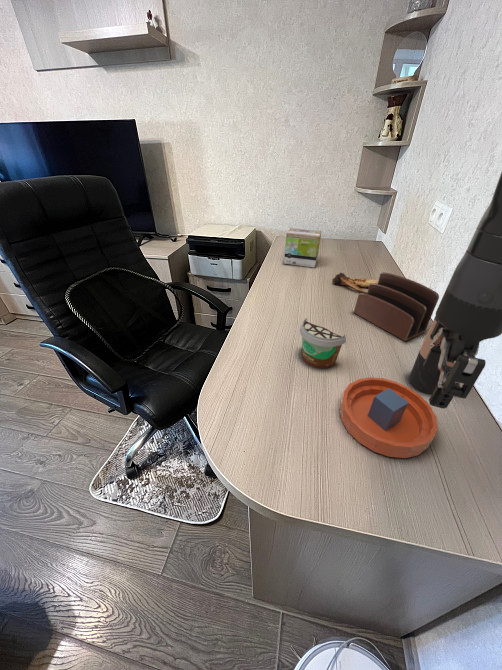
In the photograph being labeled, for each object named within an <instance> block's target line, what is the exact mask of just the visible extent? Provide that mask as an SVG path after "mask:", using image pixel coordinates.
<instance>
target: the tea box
mask: <svg viewBox="0 0 502 670" xmlns="http://www.w3.org/2000/svg"><path fill="white" fill-rule="evenodd" d="M285 235H286V236H285V245H284V254H283V255H284V258H283V264H284V265H292V266H300V267H305V268H306V267H307V268H315V267H316V264H317V262H318V257H319V251H320V245H321V237H322V231H321V230H313V229H302V228H292V227H291V228H289V230H288V231H287V233H286V234H285Z"/></svg>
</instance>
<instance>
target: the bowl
mask: <svg viewBox="0 0 502 670" xmlns="http://www.w3.org/2000/svg"><path fill="white" fill-rule="evenodd" d="M388 388H390V389H391V390H393V391H394V392H395V393H397V394H398V395H399V396H401V397H402V398H404V399H405V400H406V401H408V402H409V403H408V405H407V407H406V409H405V411H404V413H403V416H402V418H401V420H400V422H399V423H397V424H395V425H394V426H392V427H391V428H389V429H388V430H386V431H384V430H383V429H382V428H381V427H380V426H379V425H378V424H376V423H375V422H374V421H373V420H372V419H371V418H370V417H368V416H367V415H368V413H369V410H370V407H371V405H372V402H373V399H374V397H375V396H376V395H378V394H379V393H381V392H383V391H385V390H387V389H388ZM339 414H340V419H341V422H342V424H343V425H344V427H345V429H346V431H347V432H348V433H349V434H350V435H351V436H352V437H353V438H354V439H355V440H356V441H357V442H358V443H359V444H360V445H362V446H363V447H365V448H367V449H369V450H370V451H372V452H374V453H378V454H380V455H382V456H385V457H388V458H398V459H408V458H412V457H413V458H414V457H416V456H419V455H421V454H422V453H423V452H424V451H426V450H427V449H429V446H430V445H431V444H432V442H433V440H434V438H435V436H436V434H437V432H438V428H439V427H438V420H437V415H436V413H435V412H434V410H433V408H432V405H430V403H428V402H427V401H426V400H425V399H424V398H423V397H422V396H421V394H419V393H418V392H416V391H414V390H413V389H412V388H410V387H408V386H406V385H404V384H402V383H400V382H397V381H395V380H391V379H388V378H383V377H363V378H358V379H357V380H354V381H352V382H350V383H349V384H348V385H347V387H346V388H345V389H344V391H343V394H342V396H341V401H340V406H339Z"/></svg>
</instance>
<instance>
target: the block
mask: <svg viewBox="0 0 502 670" xmlns="http://www.w3.org/2000/svg"><path fill="white" fill-rule="evenodd" d="M408 403H409V402H408V401H406V400H405V399H404V398H402V397H401V396H399V395H398V394H397V393H395V392H394V391H393V390H391V389H390V388H388V389H387V390H385V391H383V392H381V393H379V394H378V395H376V396H375V397H374V399H373V402H372V405H371V407H370V410H369V413H368V415H367V416H368V417H370V418H371V419H372V420H373V421H374V422H375V423H376V424H378V425H379V426H380V427H381V428H382V429H383V430H384V431H386V430H388V429H389V428H391V427H392V426H394V425H395V424H397V423H399V422H400V420H401V418H402V416H403V413H404V411H405V409H406V407H407V405H408Z"/></svg>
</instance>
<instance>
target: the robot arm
mask: <svg viewBox="0 0 502 670" xmlns="http://www.w3.org/2000/svg"><path fill="white" fill-rule="evenodd" d="M435 316H436V318H437V320H438V321H437V323H436V325H435V327H434V329H433V331H432V333H431V335H430V339H432V340H433V341H432V342H431V343H430V348H431V349H430V351H429V353H428V355H427V358H426V360H425V362H424V364H423V366H424V369H427V370H431V371H438V370H440V371H441V374H440V378H439V382H438V384H437V386H436V388H435V390H434V391H433V393H432V394H430V397H429V398H428V402H429V403H428V404H429V405H430V406H431V407H435V408H439V409H447V408H448V406H449V405H450V403H451V401H452V400H453V398H454V397H455V398H460V399H464V400H465V399H466V398H467V397H468V396H469V394H470V392H471V390H472V388H473V387H474V386H475V384H476V382H477V381H478V380H479V379H478V378H479V377H480V376H481V374H482V372H483V370H484V369H485V367H486V362H487V361H486V360H485V359H484V358H479V357H476V356H477V355H478V352H479V349H480V343H481V342H483V341H484V340H486V341H487V340H490V339H495V338H498V337H500V336H501V335H502V171H501V173H500V175H499V178H498V180H497V183H496V186H495V189H494V192H493V195H492V197H491V201H490V203H489V204H488V206H487V207H486V209H485V211H484V213H483V215H482V216H481V219H480V220H479V222H478V224H477V226H476V228H475V231H474V233H473V235H472V237H471V240H470V242H469V243H468V245H467V248H466V250H465V252H464V254H463V256H462V257H461V259H460V261H459V262H458V263H457V265H456V267H455V268H454V271H453V274H452V275H451V277H450V280H449V282H448V284H447V286H446V289H445V291H444V293H443V296H442V297H441V300H440V302H439V305H438V306H437V309H436V311H435ZM447 362H451V363H454V366H453V367H450V366H448V365H447ZM449 372H450V374H449V375H448V373H449ZM447 375H448V377H447Z"/></svg>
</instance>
